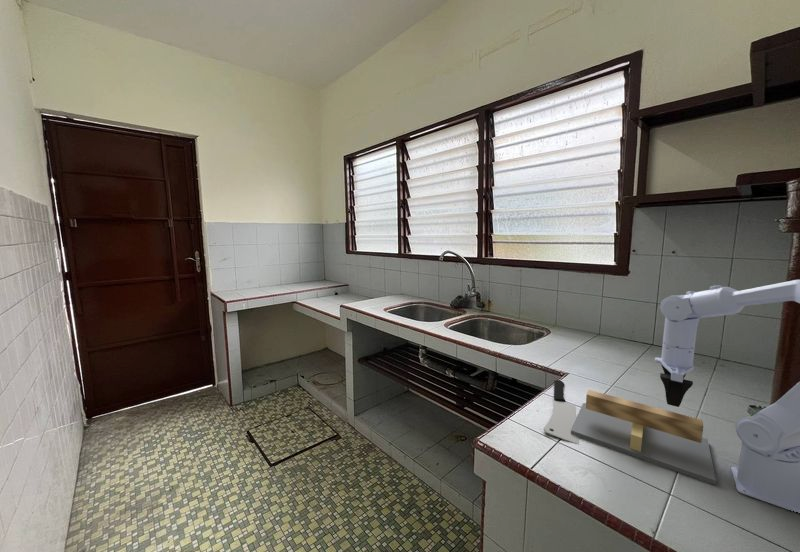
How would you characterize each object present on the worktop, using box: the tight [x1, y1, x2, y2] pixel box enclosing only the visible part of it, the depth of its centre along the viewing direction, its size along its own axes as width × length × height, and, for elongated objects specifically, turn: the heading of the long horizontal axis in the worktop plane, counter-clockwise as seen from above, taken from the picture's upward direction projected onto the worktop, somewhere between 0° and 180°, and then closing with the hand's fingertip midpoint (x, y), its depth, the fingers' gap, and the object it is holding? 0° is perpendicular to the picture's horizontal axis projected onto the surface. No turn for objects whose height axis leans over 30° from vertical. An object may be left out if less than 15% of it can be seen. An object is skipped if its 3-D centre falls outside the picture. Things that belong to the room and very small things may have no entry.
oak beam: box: [585, 389, 704, 443], centre depth 76 cm, size 22×3×4 cm, turn 50°
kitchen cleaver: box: [543, 379, 580, 445], centre depth 90 cm, size 31×2×10 cm
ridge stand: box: [571, 402, 717, 486], centre depth 77 cm, size 26×16×4 cm, turn 50°
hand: (672, 398), depth 76 cm, fingers open, 7 cm apart
